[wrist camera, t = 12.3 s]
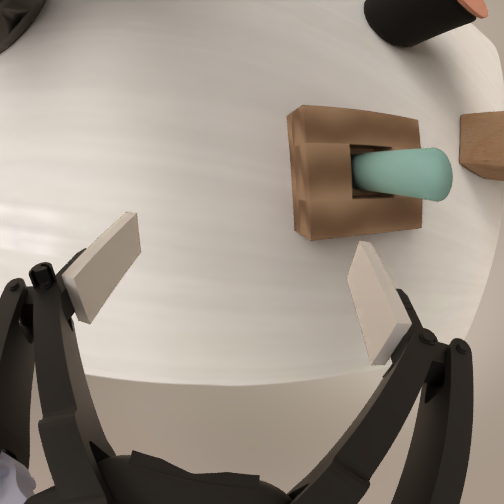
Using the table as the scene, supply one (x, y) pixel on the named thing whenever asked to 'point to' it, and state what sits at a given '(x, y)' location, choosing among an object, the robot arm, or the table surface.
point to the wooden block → (483, 144)
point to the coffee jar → (419, 18)
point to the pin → (403, 173)
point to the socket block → (346, 172)
